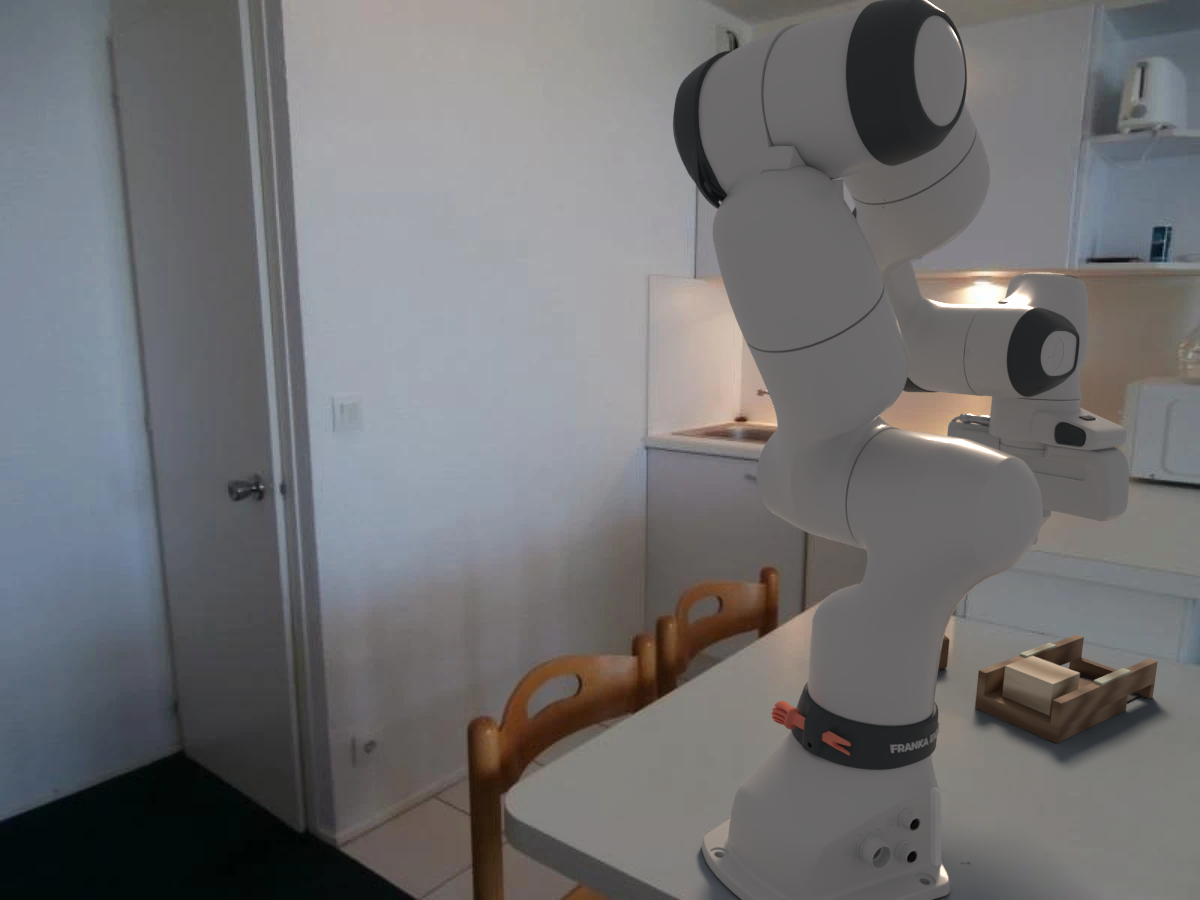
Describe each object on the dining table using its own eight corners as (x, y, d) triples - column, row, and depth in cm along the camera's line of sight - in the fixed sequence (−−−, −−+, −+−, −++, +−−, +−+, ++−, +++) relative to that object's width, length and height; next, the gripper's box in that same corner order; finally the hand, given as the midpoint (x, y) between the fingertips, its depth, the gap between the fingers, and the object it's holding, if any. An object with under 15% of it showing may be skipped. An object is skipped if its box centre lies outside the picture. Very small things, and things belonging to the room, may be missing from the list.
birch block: (1049, 715, 101) (1053, 684, 100) (1002, 695, 106) (1005, 665, 105) (1076, 703, 104) (1080, 672, 103) (1029, 685, 109) (1032, 655, 108)
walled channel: (1056, 743, 98) (1061, 701, 97) (974, 707, 107) (978, 668, 106) (1152, 697, 111) (1158, 659, 110) (1072, 668, 119) (1076, 632, 118)
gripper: (934, 412, 101) (924, 524, 104) (1113, 436, 85) (1096, 569, 87) (965, 409, 105) (956, 518, 107) (1143, 432, 88) (1127, 560, 90)
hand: (1020, 541), depth 97 cm, fingers closed
